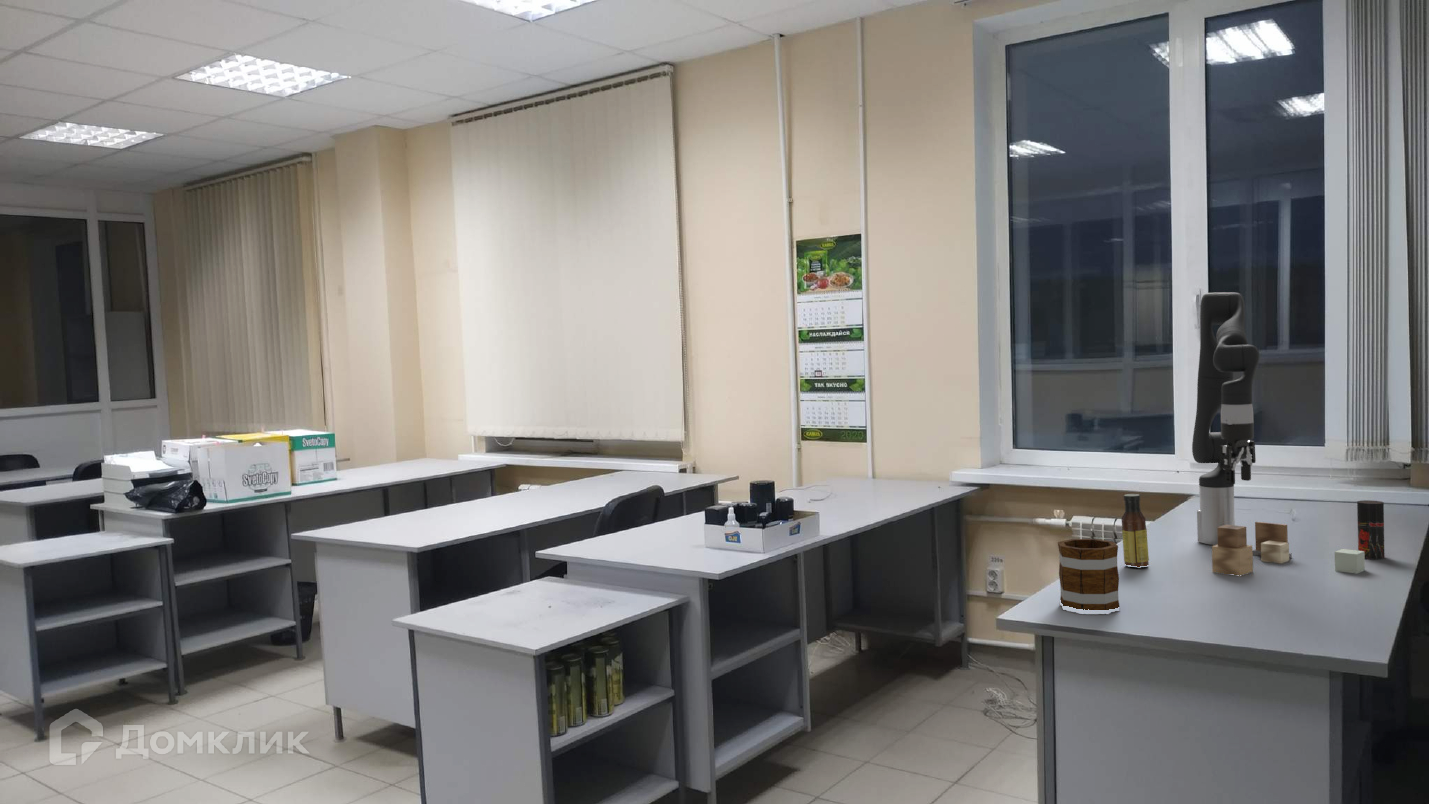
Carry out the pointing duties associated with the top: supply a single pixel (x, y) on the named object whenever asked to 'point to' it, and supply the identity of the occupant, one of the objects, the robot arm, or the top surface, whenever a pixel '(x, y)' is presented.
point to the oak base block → (1232, 560)
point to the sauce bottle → (1134, 533)
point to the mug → (1089, 574)
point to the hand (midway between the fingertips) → (1238, 482)
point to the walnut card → (1269, 535)
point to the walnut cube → (1232, 536)
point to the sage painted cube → (1349, 561)
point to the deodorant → (1371, 528)
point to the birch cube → (1275, 551)
